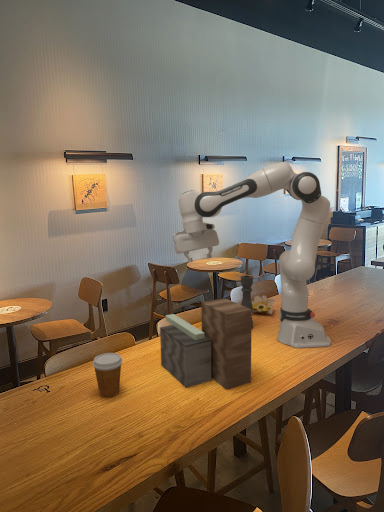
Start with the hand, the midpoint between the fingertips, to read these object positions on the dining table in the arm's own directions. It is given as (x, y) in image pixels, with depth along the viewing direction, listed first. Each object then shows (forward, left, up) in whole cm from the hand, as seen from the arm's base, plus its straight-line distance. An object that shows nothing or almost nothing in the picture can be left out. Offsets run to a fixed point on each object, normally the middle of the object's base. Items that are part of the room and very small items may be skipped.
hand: (200, 260), depth 167 cm
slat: (+4, +29, -20) cm, 36 cm away
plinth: (-12, +36, -35) cm, 52 cm away
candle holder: (-21, -14, -36) cm, 44 cm away
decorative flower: (-29, -37, -36) cm, 59 cm away
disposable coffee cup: (+26, +50, -36) cm, 67 cm away
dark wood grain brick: (+3, +34, -35) cm, 49 cm away
